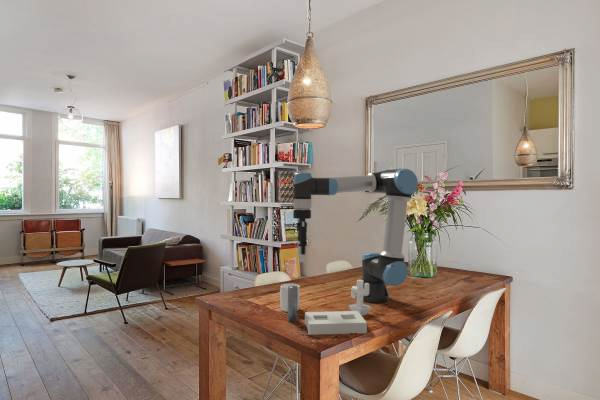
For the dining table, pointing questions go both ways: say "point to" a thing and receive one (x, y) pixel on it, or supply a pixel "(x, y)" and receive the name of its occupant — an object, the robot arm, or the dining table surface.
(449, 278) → the dining table surface
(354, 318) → the bore block
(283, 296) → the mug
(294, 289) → the steel pin
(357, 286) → the figurine
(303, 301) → the dining table surface
